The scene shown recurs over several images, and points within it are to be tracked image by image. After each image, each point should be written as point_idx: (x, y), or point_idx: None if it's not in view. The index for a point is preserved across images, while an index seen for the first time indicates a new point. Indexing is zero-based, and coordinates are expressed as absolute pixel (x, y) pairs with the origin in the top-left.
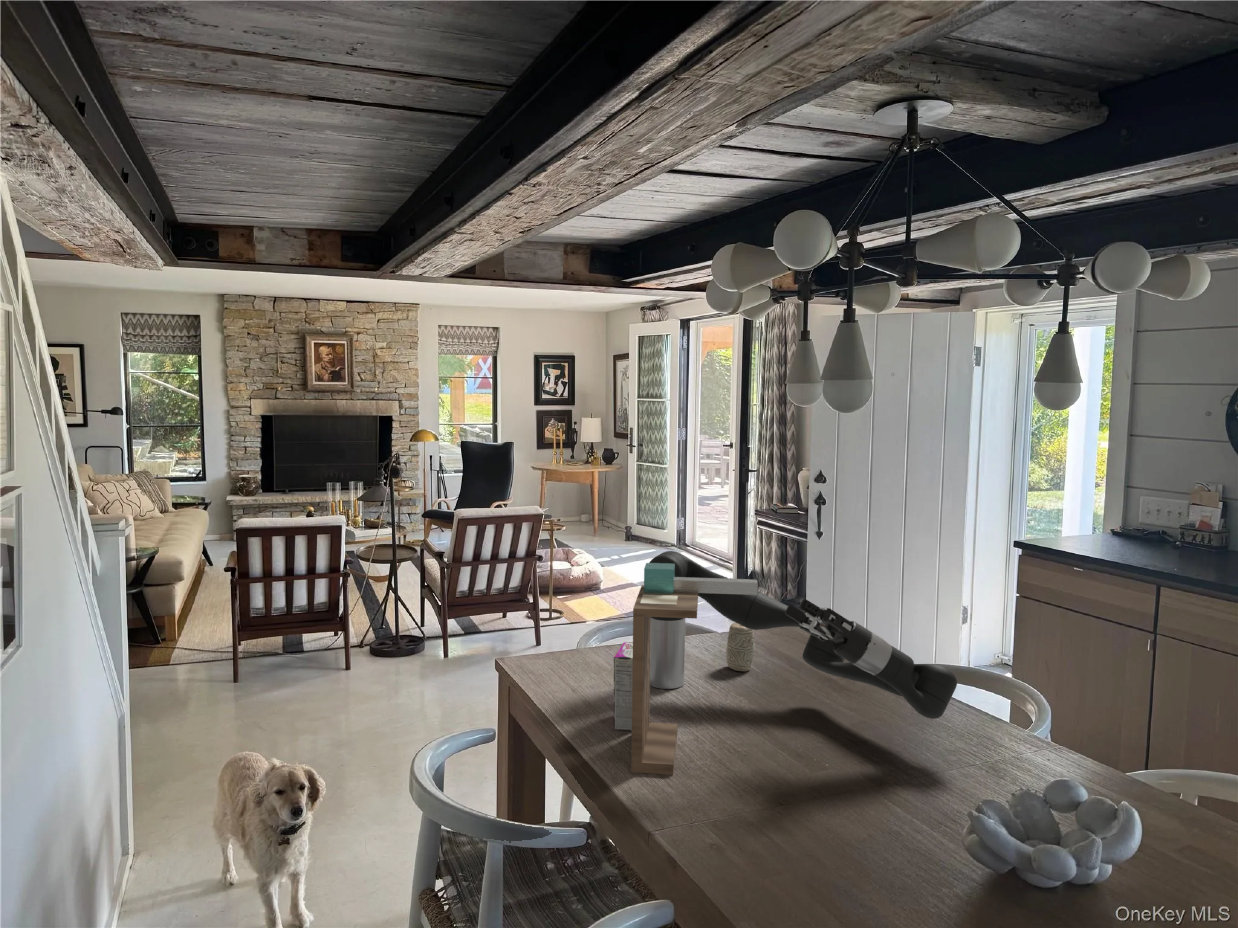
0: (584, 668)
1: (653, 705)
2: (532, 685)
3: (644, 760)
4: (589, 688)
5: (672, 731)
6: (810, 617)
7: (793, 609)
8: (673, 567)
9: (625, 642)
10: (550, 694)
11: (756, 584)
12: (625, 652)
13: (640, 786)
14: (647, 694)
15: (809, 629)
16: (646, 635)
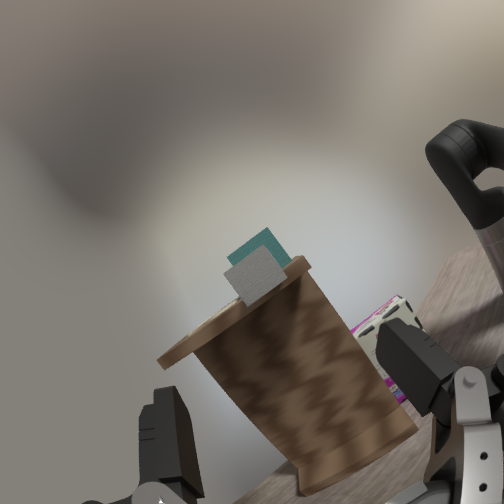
0: (485, 264)
1: (471, 352)
2: (429, 297)
3: (303, 468)
4: (457, 305)
5: (389, 437)
6: (454, 415)
7: (396, 346)
8: (240, 247)
9: (396, 295)
10: (424, 314)
11: (227, 278)
12: (364, 324)
13: (277, 487)
14: (339, 398)
15: (426, 473)
16: (258, 350)
